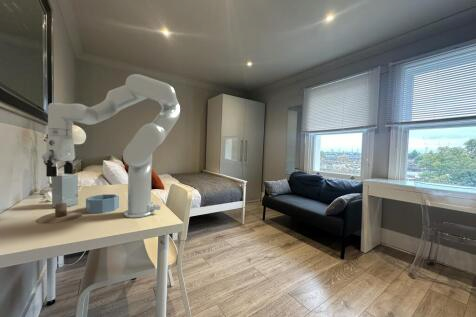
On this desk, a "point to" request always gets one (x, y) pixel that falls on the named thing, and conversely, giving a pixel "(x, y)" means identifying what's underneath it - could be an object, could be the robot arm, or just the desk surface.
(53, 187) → the skincare box
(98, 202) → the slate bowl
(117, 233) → the desk surface
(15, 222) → the desk surface
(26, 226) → the desk surface
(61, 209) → the walnut lid
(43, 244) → the desk surface
